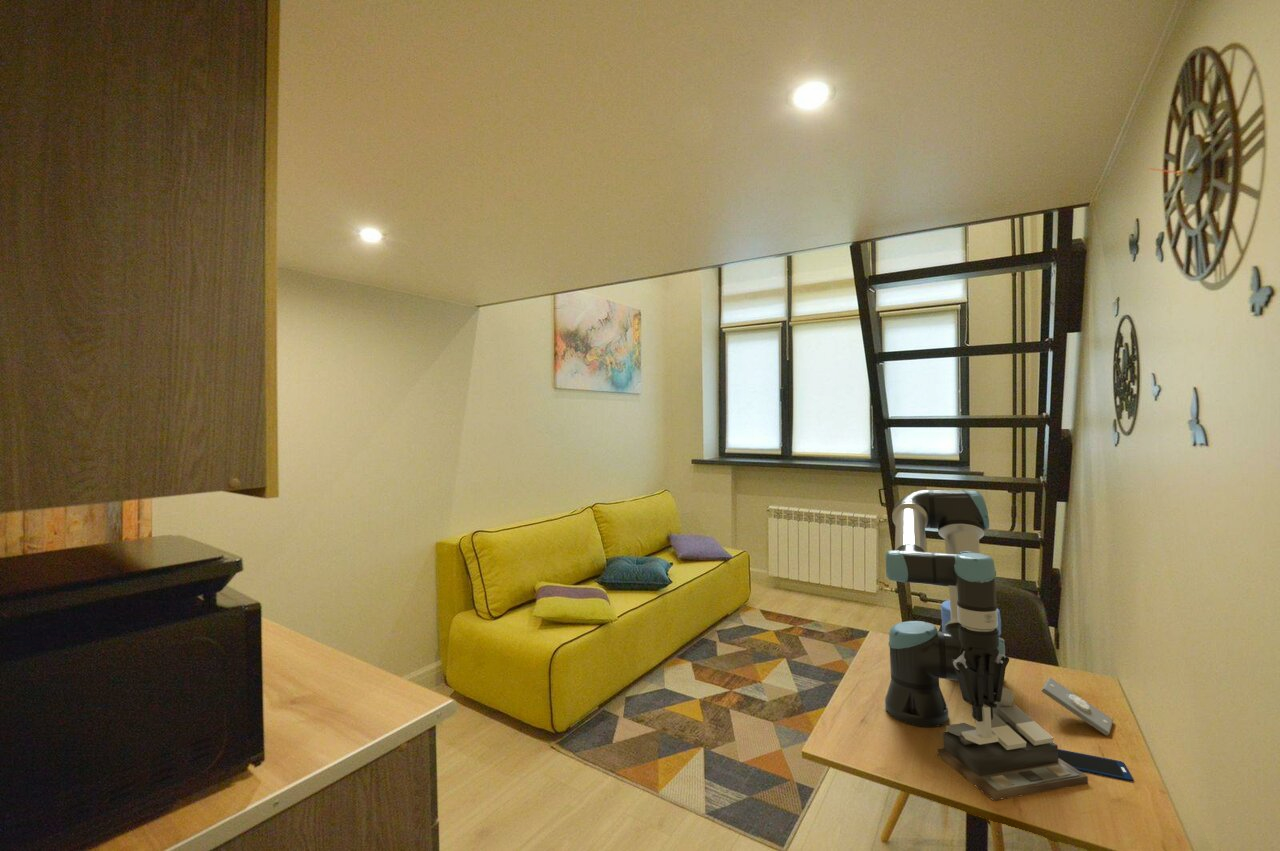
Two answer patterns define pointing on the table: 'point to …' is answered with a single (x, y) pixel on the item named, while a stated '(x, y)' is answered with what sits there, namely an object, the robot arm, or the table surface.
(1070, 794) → the table surface
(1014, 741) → the middle rocker
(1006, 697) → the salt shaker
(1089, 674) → the table surface
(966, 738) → the left rocker
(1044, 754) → the switch console
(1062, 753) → the cell phone
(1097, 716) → the light switch
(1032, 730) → the right rocker
